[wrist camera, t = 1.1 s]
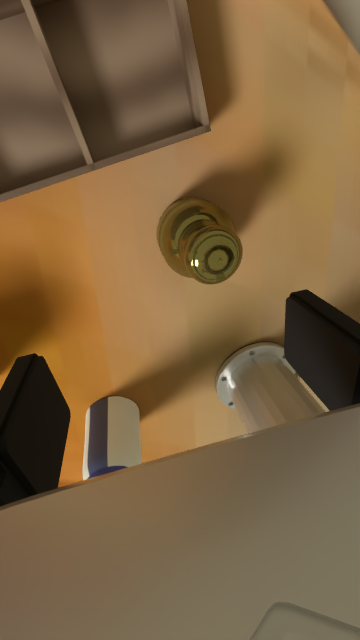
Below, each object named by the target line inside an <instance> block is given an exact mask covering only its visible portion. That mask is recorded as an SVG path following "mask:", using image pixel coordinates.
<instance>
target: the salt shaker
mask: <svg viewBox="0 0 360 640" xmlns="http://www.w3.org/2000/svg"><path fill="white" fill-rule="evenodd" d="M157 241H158V245H159V247H160V250H161V253H162V255H163V256H164V258H165V260H166V262H167V264H168V265H169V266H170V267H171V268H172V269H173V270H174V271H175V272H176V273H178V274H180V275H182V276H185V277H188V278H194V279H195V280H197V281H198V282H201V283H204V284H217V283H220V282H223V281H225V280H227V279H228V278H229V277H231V276H232V275H233V274H234V273H235V271H236V270H237V269H238V267H239V265H240V262H241V259H242V252H243V251H242V244H241V241H240V239H239V237H238V236H237V235H236V233H235V228H234V224H233V222H232V220H231V218H230V216H229V215H228V213H227V212H226V211H225V210H224V209H223V208H221V207H220V206H218V205H216V204H214V203H211V202H209V201H207V200H203V199H200V198H193V197H190V198H184V199H181V200H178V201H176V202H174V203H173V204H171V205H170V206H169V207H168V208H167V209H166V210H165V211H164V213H163V214H162V216H161V218H160V220H159V223H158V227H157Z"/></svg>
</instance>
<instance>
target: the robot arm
mask: <svg viewBox="0 0 360 640" xmlns="http://www.w3.org/2000/svg"><path fill="white" fill-rule="evenodd" d="M295 372H297V373H298V375H299V376H300V377H301V378H302V379H303V380H304V381H305V383H306V384H307V385H308V386H309V387H310V388H311V389H312V391H313V392H314V393H315V394H316V395H317V396H318V398H319V399H320V400H321V401H322V402H323V403H324V404H325V406H326V407H327V408H328V409H329V410H330V411H328V412H325V410H324V409H323V408H322V407H321V406H320V404H319V403H318V402H317V401H316V400H315V399H314V397H313V396H312V395H311V394H310V393H309V391H308V390H307V389H306V388H305V387H304V386H303V384H302V383H301V382H300V381H299V380H298V378H297V377H296V376H295ZM215 387H216V392H217V394H218V397H219V398H220V400H221V402H222V403H223V404H225V405H226V406H227V407H229V408H231V409H234V410H237V412H238V414H239V416H240V418H241V420H242V422H243V424H244V426H245V428H246V430H247V432H248V434H245V435H241V436H237V437H234V438H230V439H227V440H223V441H220V442H216V443H212V444H209V445H205V446H202V447H198V448H195V449H191V450H188V451H184V452H180V453H177V454H173V455H170V456H166V457H163V458H159V459H156V460H152V461H149V462H145V463H142V464H138V465H135V466H131V467H128V468H124V469H121V470H117V471H114V472H110V473H107V474H103V475H100V476H96V477H93V478H89V479H86V480H83V481H79V482H76V483H73V484H69V485H66V486H63V487H59V488H58V483H59V477H60V472H61V466H62V461H63V455H64V450H65V444H66V439H67V434H68V428H69V423H70V409H69V407H68V405H67V403H66V401H65V399H64V397H63V395H62V393H61V391H60V389H59V387H58V385H57V383H56V381H55V379H54V377H53V375H52V373H51V371H50V369H49V367H48V365H47V363H46V361H45V359H44V357H43V356H39V357H38V355H37V354H35V353H34V354H30V355H26V356H22V357H18V358H17V359H16V361H15V363H14V365H13V367H12V369H11V370H10V372H9V374H8V376H7V378H6V380H5V382H4V384H3V386H2V388H1V390H0V640H360V324H359V323H358V322H356V321H355V320H353V319H352V318H350V317H349V316H347V315H345V314H344V313H342V312H341V311H339V310H338V309H336V308H335V307H333V306H332V305H330V304H329V303H327V302H326V301H324V300H322V299H321V298H319V297H318V296H316V295H315V294H313V293H312V292H310V291H309V290H301V291H297V292H293V293H291V294H290V296H289V297H288V298H287V299H286V313H285V341H284V347H283V346H281V345H278V344H276V343H271V342H261V343H255V344H252V345H249V346H246V347H244V348H242V349H240V350H238V351H237V352H235V353H234V354H232V355H231V356H230V357H229V358H228V359H227V360H226V361H225V362H224V364H223V365H222V366H221V368H220V370H219V372H218V374H217V377H216V383H215Z"/></svg>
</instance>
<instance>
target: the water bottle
mask: <svg viewBox="0 0 360 640" xmlns="http://www.w3.org/2000/svg"><path fill="white" fill-rule="evenodd" d="M138 464H142V452H141V440H140V415H139V408H138V406H137V405H136V404H135V403H134V402H133V401H132V400H130V399H128V398H125V397H119V396H112V397H106V398H103V399H100V400H98V401H96V402H95V403H93V404H92V405H91V406H90V407H89V409H88V410H87V413H86V425H85V447H84V459H83V480H86V479H89V478H93V477H96V476H100V475H103V474H107V473H110V472H114V471H117V470H121V469H124V468H128V467H131V466H135V465H138Z"/></svg>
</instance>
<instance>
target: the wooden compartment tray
mask: <svg viewBox="0 0 360 640" xmlns="http://www.w3.org/2000/svg"><path fill="white" fill-rule="evenodd" d="M209 131H211V129H210V123H209V118H208V113H207V107H206V102H205V97H204V91H203V86H202V81H201V75H200V70H199V65H198V59H197V54H196V49H195V43H194V38H193V33H192V27H191V22H190V17H189V11H188V6H187V1H186V0H0V202H2V201H5V200H8V199H11V198H14V197H17V196H20V195H23V194H26V193H29V192H32V191H35V190H38V189H41V188H44V187H47V186H50V185H52V184H55V183H58V182H61V181H64V180H67V179H70V178H73V177H76V176H79V175H82V174H85V173H88V172H91V171H94V170H97V169H100V168H103V167H106V166H109V165H112V164H114V163H117V162H120V161H123V160H126V159H129V158H132V157H135V156H138V155H141V154H144V153H147V152H150V151H153V150H156V149H159V148H162V147H165V146H168V145H171V144H174V143H177V142H179V141H182V140H185V139H188V138H191V137H194V136H197V135H200V134H203V133H206V132H209Z"/></svg>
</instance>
